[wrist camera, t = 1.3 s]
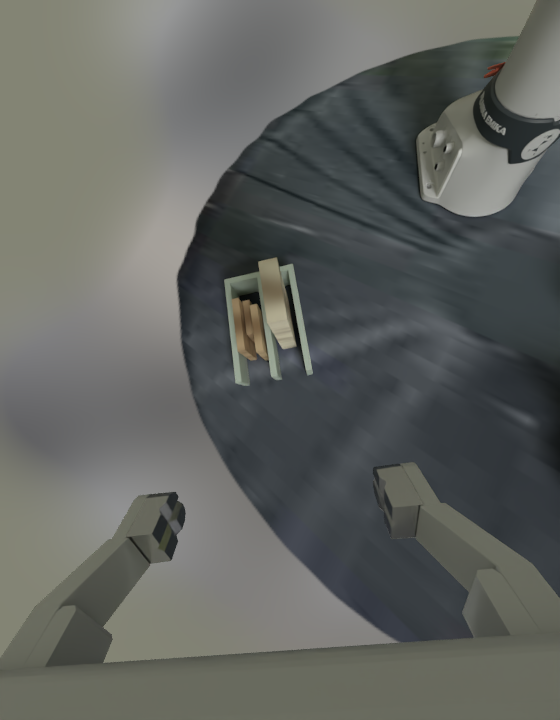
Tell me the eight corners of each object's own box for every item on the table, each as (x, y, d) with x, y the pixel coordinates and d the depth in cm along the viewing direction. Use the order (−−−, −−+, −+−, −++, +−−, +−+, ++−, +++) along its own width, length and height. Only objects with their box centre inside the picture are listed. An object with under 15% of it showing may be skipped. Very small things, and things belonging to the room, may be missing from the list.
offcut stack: (244, 316, 46) (231, 299, 39) (264, 312, 46) (254, 293, 39) (251, 363, 44) (237, 354, 37) (271, 359, 44) (262, 349, 37)
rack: (233, 292, 48) (224, 279, 43) (295, 278, 46) (292, 263, 41) (244, 385, 44) (235, 383, 39) (312, 374, 42) (312, 369, 37)
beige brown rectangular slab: (275, 304, 46) (258, 261, 32) (288, 302, 46) (276, 257, 32) (282, 349, 44) (267, 323, 30) (296, 346, 44) (287, 319, 30)
